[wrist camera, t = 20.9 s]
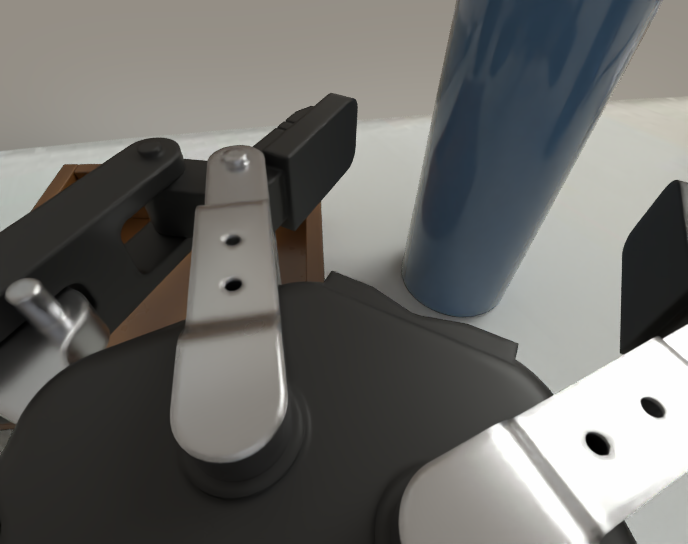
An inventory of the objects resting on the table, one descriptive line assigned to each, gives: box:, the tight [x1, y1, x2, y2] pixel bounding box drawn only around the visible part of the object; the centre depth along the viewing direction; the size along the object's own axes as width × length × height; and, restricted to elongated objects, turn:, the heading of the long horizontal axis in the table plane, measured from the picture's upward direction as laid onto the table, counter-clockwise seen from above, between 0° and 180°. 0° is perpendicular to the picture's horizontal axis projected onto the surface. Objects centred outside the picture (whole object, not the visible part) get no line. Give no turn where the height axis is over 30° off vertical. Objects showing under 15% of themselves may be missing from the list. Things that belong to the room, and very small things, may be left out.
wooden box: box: [0, 164, 324, 430], centre depth 20 cm, size 15×14×4 cm
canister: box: [402, 0, 663, 317], centre depth 17 cm, size 6×6×16 cm
